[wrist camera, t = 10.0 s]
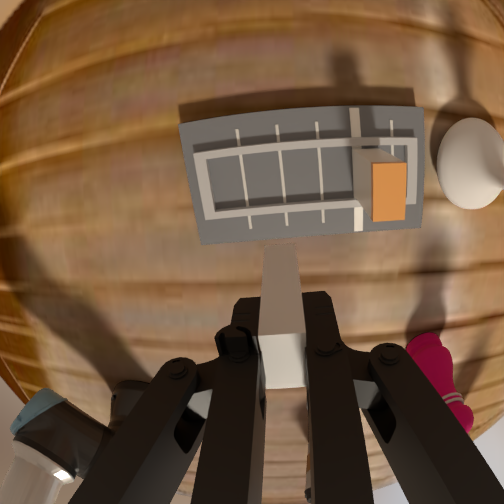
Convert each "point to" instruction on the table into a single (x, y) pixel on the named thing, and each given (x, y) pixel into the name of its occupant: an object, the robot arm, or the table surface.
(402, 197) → the fader
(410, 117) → the panel
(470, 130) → the flower in vase
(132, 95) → the table surface
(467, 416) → the pepper mill
